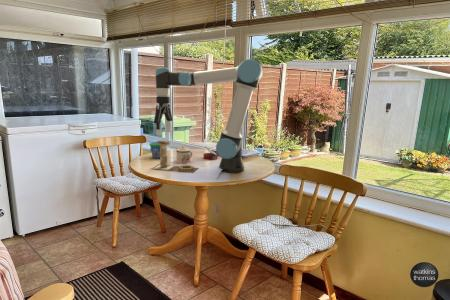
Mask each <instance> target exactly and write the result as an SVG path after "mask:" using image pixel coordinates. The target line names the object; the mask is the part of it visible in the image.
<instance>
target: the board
mask: <svg viewBox="0 0 450 300" xmlns="http://www.w3.org/2000/svg"><path fill="white" fill-rule="evenodd" d="M199 169H200V168H199V167H195V166H194V165H189V164H184V165H183V164H182V165H178V166H177V165H168V164H167V168H161V167H160V164H157V165H155V166H153V167H151V168H150V171H151V170H152V171H153V170H154V171H164V172H175V173H187V174H194V173H196V171H198V170H199Z"/></svg>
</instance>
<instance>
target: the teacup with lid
mask: <svg viewBox="0 0 450 300" xmlns="http://www.w3.org/2000/svg"><path fill="white" fill-rule="evenodd" d="M175 151H176V163H178V164H179V163H180V164H186V163H191V158H192V157H193V152H192V150H191V149H190V148H188V147H186V146H185V145H181V146H180V147H179V148H177V149H176V150H175Z"/></svg>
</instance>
